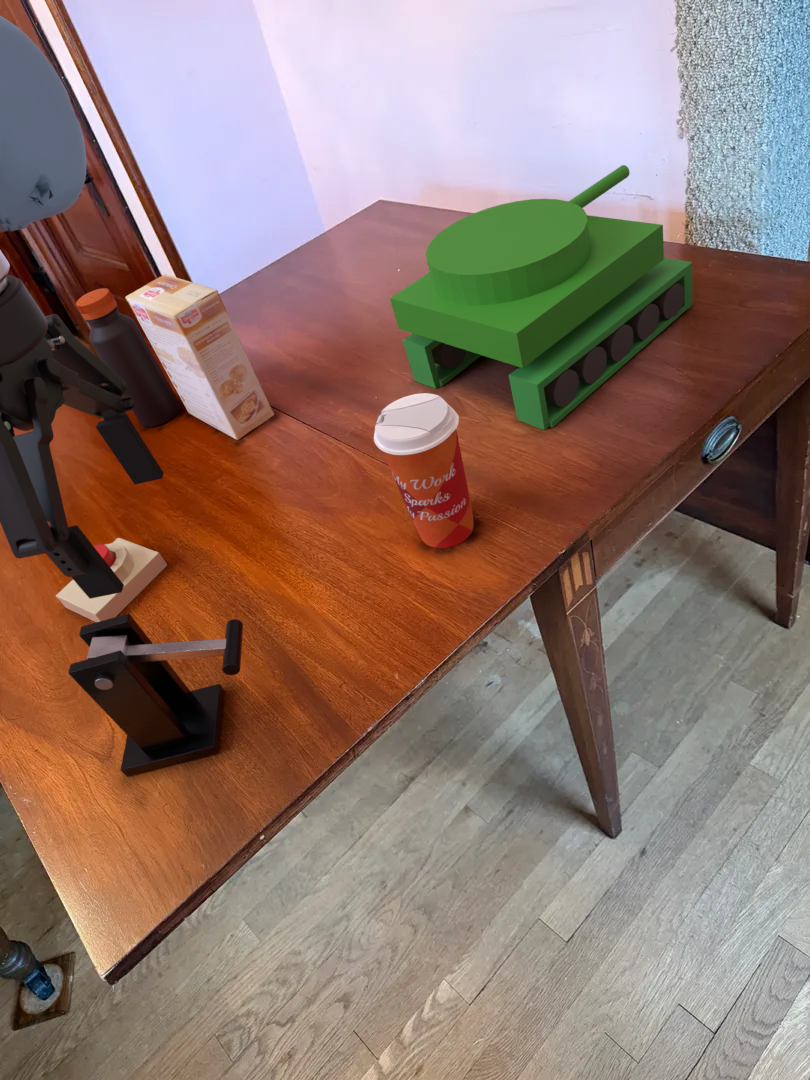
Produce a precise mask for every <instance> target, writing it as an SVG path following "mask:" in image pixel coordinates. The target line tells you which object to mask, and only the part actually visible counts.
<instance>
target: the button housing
mask: <svg viewBox="0 0 810 1080" xmlns="http://www.w3.org/2000/svg"><path fill="white" fill-rule="evenodd" d="M104 545H106V546H107V547H108V548H109V550H110V551H111V552H112V554H113V555H114V556H115V562H114V564H113V565H112V566H111V567H110V568H111V569H112V570H113V572H114V573H115V574H116V575H117V577H118V578H119V579H120V581H121V582H122V583H123V584H124V587H123V589H122V592H121V593H116V594H111V595H106V596H101V597H96V598H91V599H90V598H89V597H88V596H87V595H86V594H85V593H84V591H83V590H82V589H81V588H80V587H79V586H78V584H77V583H76V582H75V581H74V580H73V579H72V580H70V582H68V583H67V584H66V585H65V586H63V588H62V589H61V590H60V591H59V592H58V593H56V595H55V597H56V598H57V600H59V601H60V603H61V604H62V605H63V607H65V608H66V609H67V610H70V611H72V612H73V613H76V614H77V615H80V616H82V617H84V618H86V619H87V620H91V621H93V623H96V622H100V621H103V620H107V619H111V618H114V617H118V615H119V614H120V613H122V611H123V610H125V608H127V606H129V604H131V603H132V601H134V599H135V598H137V596H138V595H139V594H141V592H143V590H145V589H146V587H147V586H148V585H150V584H151V582H152V581H153V580H155V578H156V577H157V576H158V575H160V574H161V573H162V572H163V571H164V570H165V569H166V567H168V564H167V562H166V561H165V559H164V558H163V556H162V554H161V553H160V552H159V551H156V550H153V549H151V548H148V547H145V546H142V545H140V544H137V543H134V542H132V541H129V540H127V539H124V538H122V537H117V538H116V539H114V540H113V542H111V543H104Z"/></svg>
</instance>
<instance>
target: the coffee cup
mask: <svg viewBox="0 0 810 1080" xmlns="http://www.w3.org/2000/svg"><path fill="white" fill-rule="evenodd" d="M459 422H460V416H459V414H458V413H457V412H456V411H455V409H454V408H453V407H452V406H451V405H449V404H448V403H447V401H446V400H445V398H443V397H442V396H441V395H439V394H434V393H427V392H425V393H424V392H423V393H422V392H421V393H414V394H411V395H406V396H403V397H401V398H398V399H396V400H394V401H392V402H391V403H389V404H388V405H386V406H385V407H384V408H383V409H382V410H381V411H380V414H379V415H378V417H377V420H376V423H375V426H374V433H373V442H374V444H375V445H376V447H377V448H378V449H379V450H380V451H382V454H383V457H384V458H385V461H386V463H387V466H388V467H389V470H390V472H391V475H392V477H393V479H394V481H395V484H396V486H397V488H398V490H399V493H400V496H401V498H402V499H403V502H404V504H405V507H406V508H407V511H408V513H409V516H410V518H411V520H412V522H413V524H414V527H415V530H416V531H417V533H418V535H419V537H420V539H421V540H422V542H423V543H424V544H425V545H426V546H428V547H431V548H434V549H448V548H453V547H455V546H458V545H460V544H462V543H463V542H465V541H466V540H467V539H468V538H469V537H470V535H471V534H472V533H473V530H474V525H475V524H474V523H475V521H474V514H473V509H472V503H471V497H470V493H469V487H468V482H467V476H466V472H465V467H464V462H463V457H462V451H461V446H460V441H459V437H458V432H457V428H458V426H459Z"/></svg>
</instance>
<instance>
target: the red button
mask: <svg viewBox="0 0 810 1080" xmlns="http://www.w3.org/2000/svg"><path fill="white" fill-rule="evenodd" d="M93 546H94V548H95V549H96V550H97V551H98V553H99V554H100V555H101V556H102V558H103V559H104V560H105V562H106V563H107V564H108V565H109V567H111V566H112V565H113V564H114V562H115V556H114V555H113V554H112V552H111V551H110V550H109V548H108V547H107V546H106V545H105V543H104V544H103V543H98V544H95V545H93Z"/></svg>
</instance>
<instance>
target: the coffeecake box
mask: <svg viewBox="0 0 810 1080" xmlns="http://www.w3.org/2000/svg"><path fill="white" fill-rule="evenodd" d="M125 300H126V302H127V303H128V305H129V307H130V309H131V311H132V312H133V314H134V316H135V318H136V320H137V321H138V323H139V325H140V327H141V329H142V331H143V333H144V334H145V336H146V338H147V340H148V341H149V343H150V345H151V347H152V349H153V350H154V353H155V355H156V356H157V358H158V360H159V362H160V363H161V365H162V368H163V369H164V371H165V373H166V374H167V376H168V378H169V380H170V382H171V384H172V385H173V387H174V389H175V390H176V392H177V394H178V396H179V399H180V400H181V402H182V404H183V405H184V407H185V409H186V411H187V413H188V414H189V415H191V416H193V417H194V418H197V419H198V420H200V421H202V422H204V423H206V424H208V425H209V426H210V427H212V428H215V429H216V430H217V431H220V432H222V433H223V434H225V435H227V436H229V437H231V438H232V439H234V440H236V441H238V440H239V441H240V439H241V438H243V437H244V436H246V435H247V434H249V433H250V432H251V431H253V430H254V429H256V428H258V427H260V426H261V425H262V424H264V423H266V422H267V421H268V420H270V419H271V418H272V417H274V416H275V413H274V411H273V409H272V407H271V405H270V403H269V400H268V398H267V397H266V394H265V391H264V390H263V388H262V385H261V383H260V381H259V379H258V377H257V374H256V372H255V369H254V368H253V365H252V363H251V362H250V359H249V357H248V355H247V353H246V350H245V348H244V346H243V344H242V341H241V339H240V337H239V335H238V333H237V330H236V328H235V326H234V323H233V322H232V319H231V318H230V315H229V314H228V311H227V308H226V306H225V305H224V302H223V300H222V298H221V296H220V293H219V290H218V289H216V288H212V287H208V286H207V285H202V284H198V283H196V282H193V281H189V280H186V279H183V278H182V279H181V278H179V277H175V276H173V275H169V274H163V275H162V276H161V275H160V276H158V277H157V278H156V279H153V280H152V281H150V282H148V283H146V284H145V285H143V286H141V287H140V288H138V289H136V290H135V291H133V292H131V293H129V294H128V295H126V296H125Z"/></svg>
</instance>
